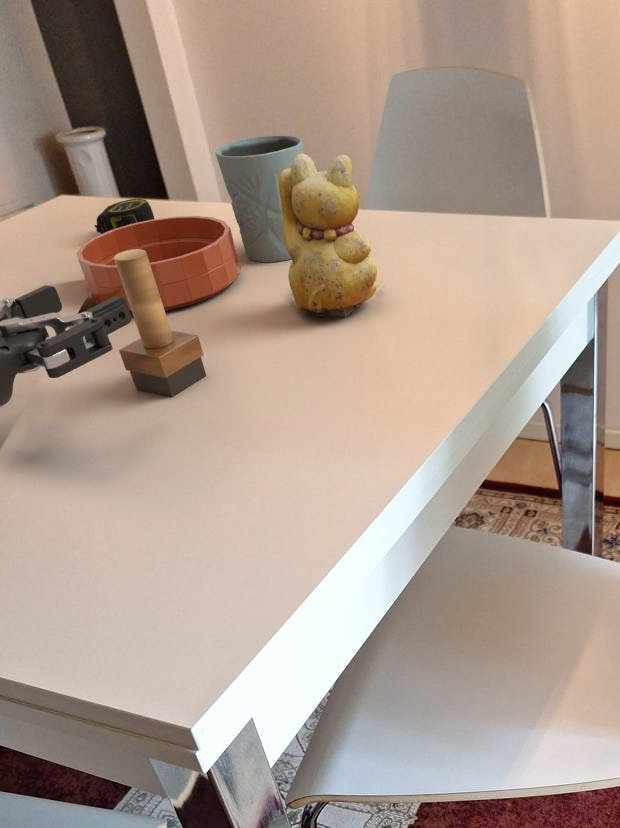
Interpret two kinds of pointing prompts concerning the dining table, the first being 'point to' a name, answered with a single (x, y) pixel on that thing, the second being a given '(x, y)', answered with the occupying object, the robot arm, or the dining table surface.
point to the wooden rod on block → (155, 334)
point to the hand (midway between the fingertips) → (90, 302)
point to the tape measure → (124, 215)
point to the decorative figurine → (325, 238)
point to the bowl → (165, 259)
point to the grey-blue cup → (258, 191)
